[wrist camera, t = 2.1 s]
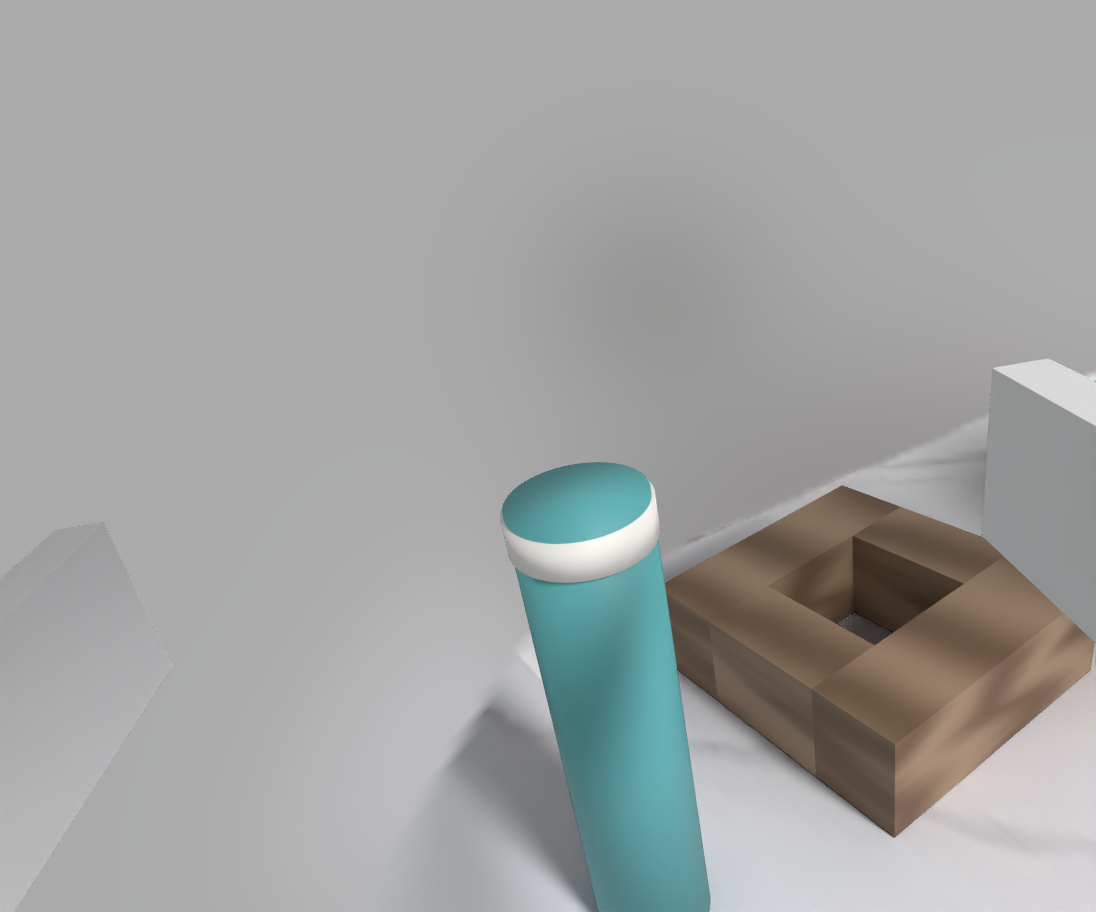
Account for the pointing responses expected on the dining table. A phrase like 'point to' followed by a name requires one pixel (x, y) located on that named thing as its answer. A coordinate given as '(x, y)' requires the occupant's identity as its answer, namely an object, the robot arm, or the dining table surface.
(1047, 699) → the socket block
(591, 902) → the dining table surface
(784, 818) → the dining table surface
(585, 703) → the peg
